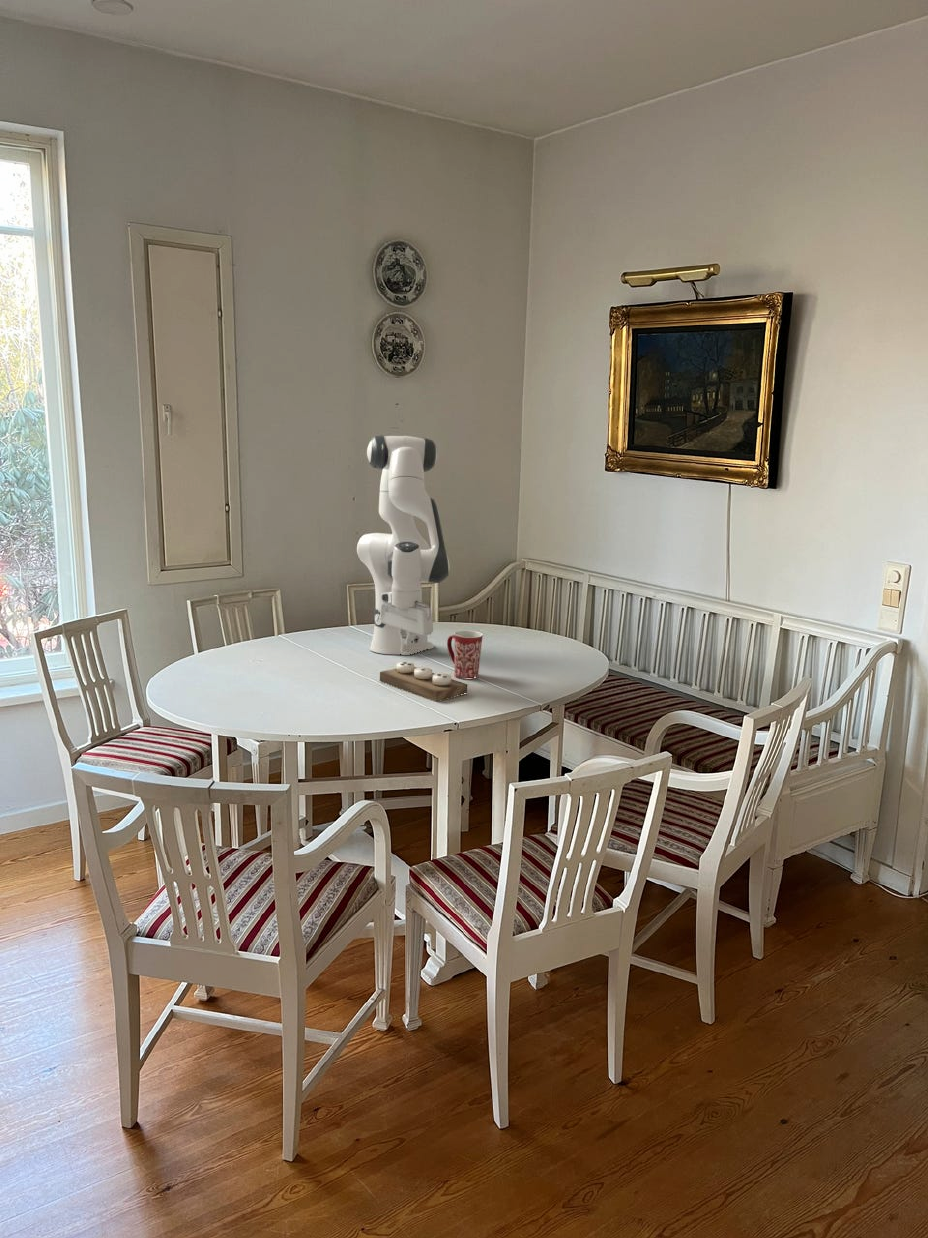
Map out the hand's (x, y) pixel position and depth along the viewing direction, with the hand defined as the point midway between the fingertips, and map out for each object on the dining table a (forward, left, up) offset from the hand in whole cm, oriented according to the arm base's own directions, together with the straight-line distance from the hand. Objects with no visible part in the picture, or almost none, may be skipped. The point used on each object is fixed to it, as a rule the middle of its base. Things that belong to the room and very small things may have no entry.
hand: (406, 643), depth 279 cm
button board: (+1, +9, -11) cm, 14 cm away
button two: (+1, +17, -8) cm, 18 cm away
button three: (+1, +1, -8) cm, 8 cm away
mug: (-18, +6, -12) cm, 23 cm away
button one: (+1, +9, -8) cm, 12 cm away
